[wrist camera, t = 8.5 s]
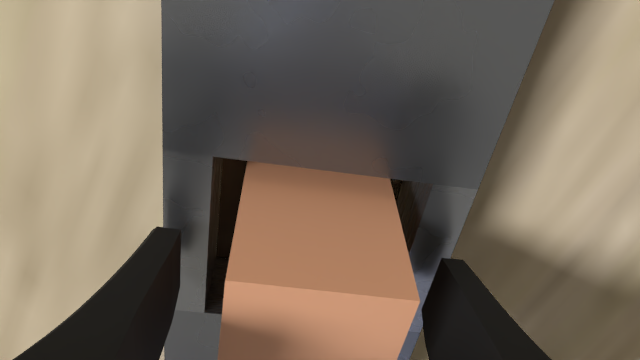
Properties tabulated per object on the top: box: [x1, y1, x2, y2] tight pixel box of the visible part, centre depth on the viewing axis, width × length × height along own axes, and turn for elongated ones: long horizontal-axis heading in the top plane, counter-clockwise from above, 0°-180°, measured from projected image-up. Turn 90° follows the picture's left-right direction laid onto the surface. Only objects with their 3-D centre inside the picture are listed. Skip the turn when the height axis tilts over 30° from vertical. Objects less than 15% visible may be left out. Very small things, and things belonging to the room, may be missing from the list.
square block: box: [218, 161, 420, 360], centre depth 14 cm, size 4×4×6 cm
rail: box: [161, 0, 554, 360], centre depth 15 cm, size 24×8×2 cm, turn 171°
